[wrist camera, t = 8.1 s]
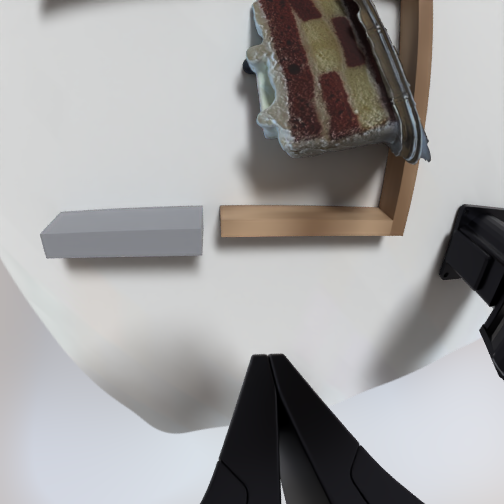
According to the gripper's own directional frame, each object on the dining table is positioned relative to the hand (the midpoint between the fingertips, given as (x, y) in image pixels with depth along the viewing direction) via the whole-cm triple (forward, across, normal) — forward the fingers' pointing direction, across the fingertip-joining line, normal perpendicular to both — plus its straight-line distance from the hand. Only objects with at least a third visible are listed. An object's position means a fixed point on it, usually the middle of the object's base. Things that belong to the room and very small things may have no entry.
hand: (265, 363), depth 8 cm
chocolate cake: (+12, -3, -8) cm, 15 cm away
